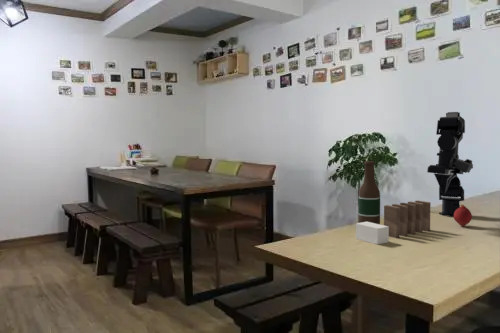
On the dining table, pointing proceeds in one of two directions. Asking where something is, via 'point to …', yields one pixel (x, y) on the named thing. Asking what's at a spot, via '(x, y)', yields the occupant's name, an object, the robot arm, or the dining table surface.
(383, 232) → the end block
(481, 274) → the dining table surface
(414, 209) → the domino
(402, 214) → the domino
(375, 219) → the beer bottle
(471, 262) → the dining table surface
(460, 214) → the onion
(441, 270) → the dining table surface
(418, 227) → the domino
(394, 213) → the domino
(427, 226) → the domino
